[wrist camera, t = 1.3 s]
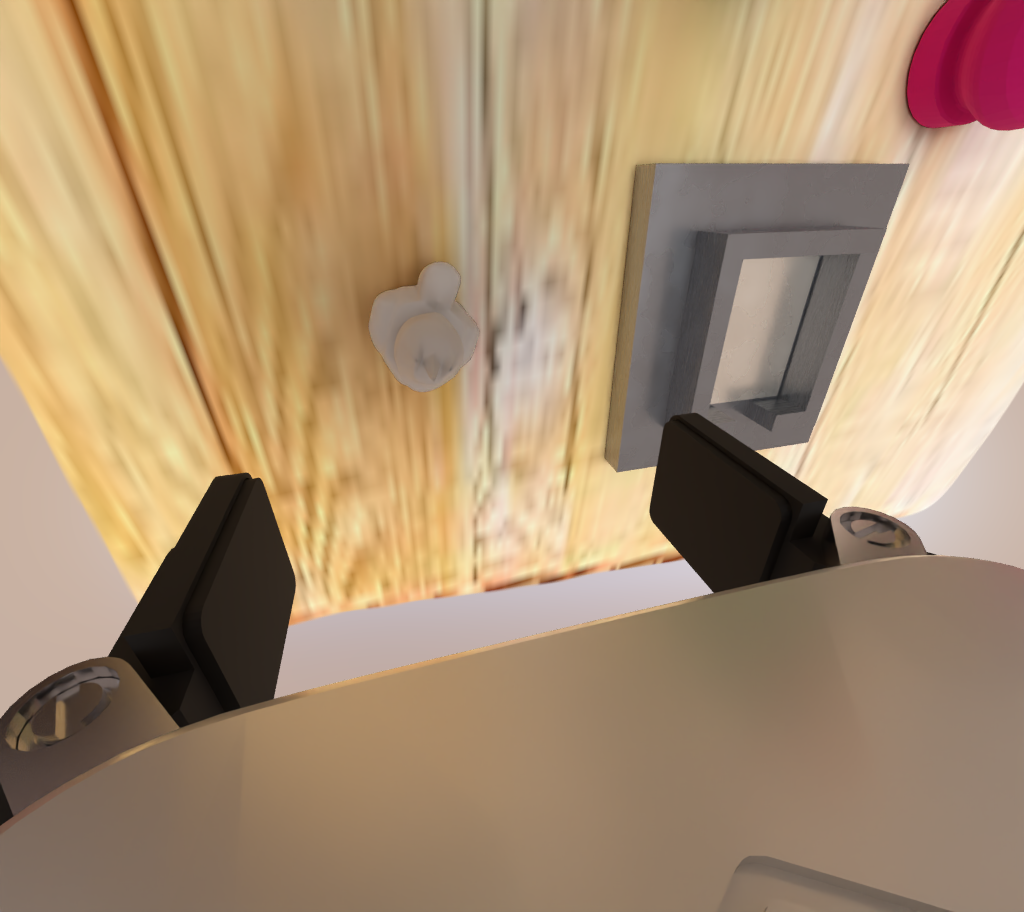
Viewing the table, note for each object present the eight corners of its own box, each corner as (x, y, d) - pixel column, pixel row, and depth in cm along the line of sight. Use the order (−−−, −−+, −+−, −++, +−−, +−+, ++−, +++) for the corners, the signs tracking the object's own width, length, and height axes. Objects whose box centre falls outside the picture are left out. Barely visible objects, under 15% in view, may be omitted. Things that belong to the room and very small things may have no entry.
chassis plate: (636, 165, 24) (685, 160, 20) (877, 165, 27) (957, 161, 24) (604, 458, 33) (634, 492, 29) (788, 430, 36) (835, 458, 33)
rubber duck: (358, 358, 25) (353, 419, 19) (386, 235, 23) (390, 253, 16) (451, 382, 27) (476, 444, 21) (486, 272, 25) (528, 301, 18)
